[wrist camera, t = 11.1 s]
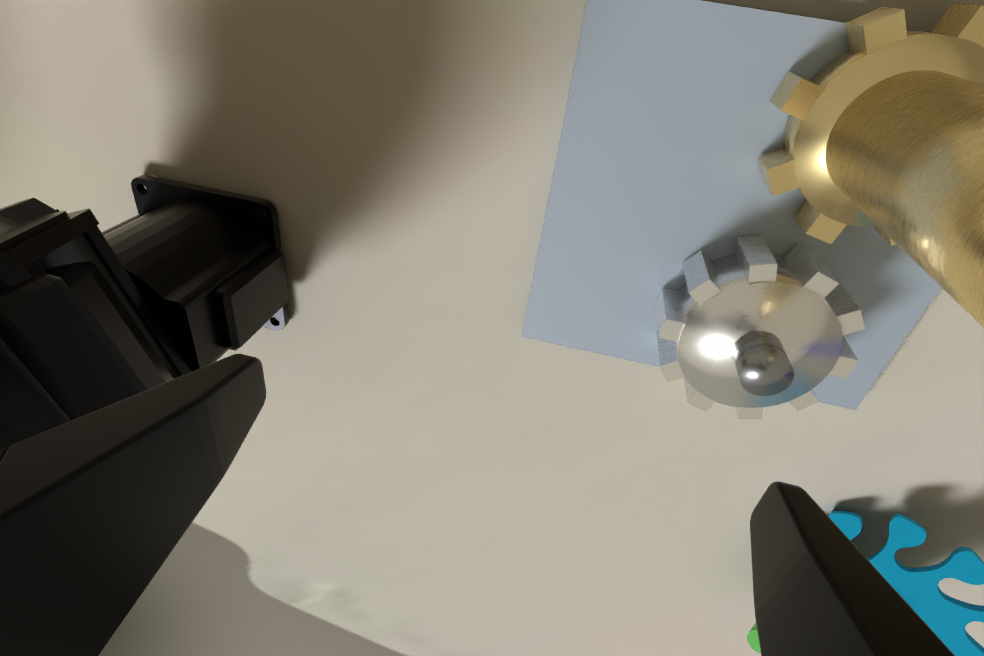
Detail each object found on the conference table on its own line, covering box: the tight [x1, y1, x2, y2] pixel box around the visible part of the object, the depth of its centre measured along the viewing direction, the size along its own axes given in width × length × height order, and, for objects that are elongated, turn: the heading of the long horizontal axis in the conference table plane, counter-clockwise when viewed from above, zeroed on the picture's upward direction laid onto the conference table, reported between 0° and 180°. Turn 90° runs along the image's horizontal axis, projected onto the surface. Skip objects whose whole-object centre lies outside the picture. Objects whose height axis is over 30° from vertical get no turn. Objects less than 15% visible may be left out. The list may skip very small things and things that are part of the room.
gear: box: [747, 510, 984, 656], centre depth 26 cm, size 11×6×10 cm
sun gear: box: [656, 235, 865, 419], centre depth 19 cm, size 6×6×4 cm
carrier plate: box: [522, 0, 941, 410], centre depth 19 cm, size 14×13×1 cm
